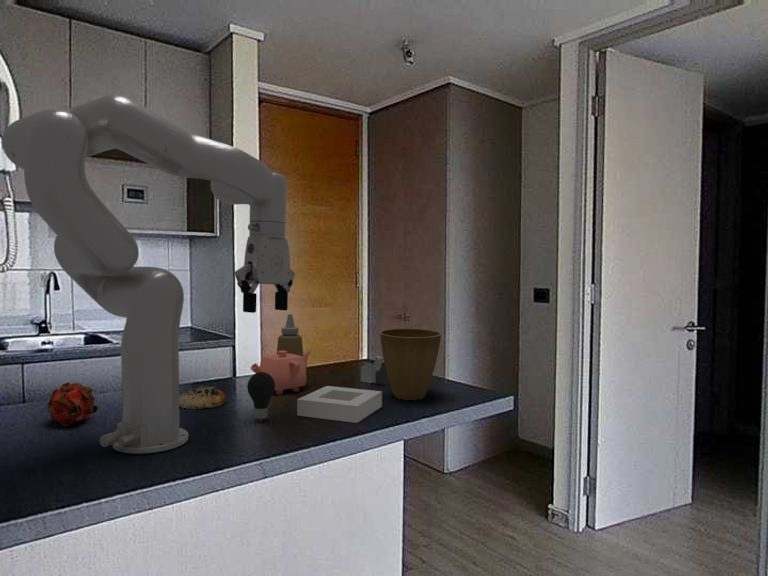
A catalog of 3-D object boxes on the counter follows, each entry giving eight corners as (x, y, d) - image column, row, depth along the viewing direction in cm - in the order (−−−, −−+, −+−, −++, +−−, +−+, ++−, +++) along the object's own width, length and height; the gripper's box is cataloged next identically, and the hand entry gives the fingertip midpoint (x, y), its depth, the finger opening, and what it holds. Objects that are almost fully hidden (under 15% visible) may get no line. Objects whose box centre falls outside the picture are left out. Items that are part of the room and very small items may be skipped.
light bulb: (278, 417, 119) (278, 370, 119) (270, 424, 114) (270, 375, 113) (252, 415, 120) (252, 369, 119) (243, 423, 114) (243, 374, 114)
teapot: (296, 398, 136) (296, 356, 135) (249, 395, 137) (249, 354, 137) (312, 385, 150) (312, 347, 149) (269, 383, 151) (269, 346, 151)
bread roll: (216, 395, 137) (216, 375, 136) (233, 411, 129) (234, 390, 128) (169, 403, 131) (169, 383, 130) (184, 421, 122) (184, 399, 121)
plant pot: (366, 396, 138) (367, 331, 137) (408, 387, 148) (409, 326, 147) (410, 408, 127) (411, 338, 126) (452, 397, 137) (453, 332, 137)
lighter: (360, 382, 154) (360, 353, 153) (364, 381, 155) (365, 352, 155) (379, 386, 149) (380, 356, 149) (384, 385, 150) (384, 355, 150)
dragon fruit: (73, 420, 120) (79, 444, 110) (35, 402, 115) (37, 425, 106) (100, 387, 122) (107, 408, 112) (63, 368, 117) (68, 388, 107)
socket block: (357, 423, 115) (357, 406, 115) (297, 415, 120) (297, 399, 120) (381, 406, 129) (382, 391, 128) (326, 400, 134) (326, 385, 133)
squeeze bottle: (273, 377, 159) (273, 313, 158) (302, 375, 162) (302, 313, 161) (276, 383, 151) (277, 316, 151) (306, 381, 154) (307, 315, 153)
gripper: (251, 227, 111) (249, 314, 112) (306, 233, 126) (305, 310, 127) (224, 228, 115) (222, 312, 116) (281, 234, 130) (279, 308, 131)
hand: (265, 311), depth 121 cm, fingers open, 9 cm apart
